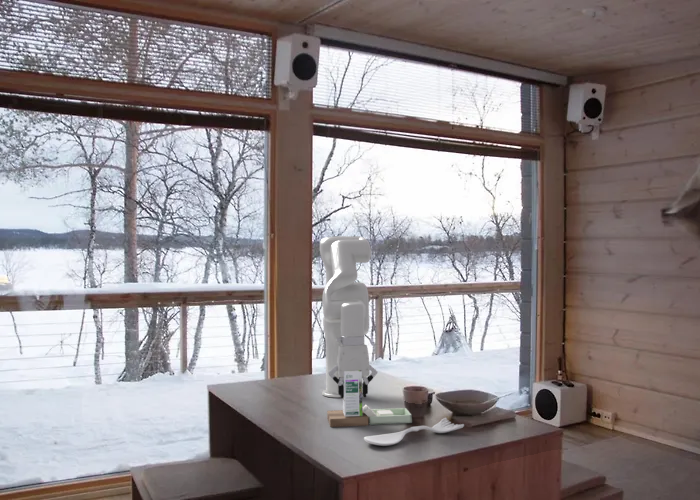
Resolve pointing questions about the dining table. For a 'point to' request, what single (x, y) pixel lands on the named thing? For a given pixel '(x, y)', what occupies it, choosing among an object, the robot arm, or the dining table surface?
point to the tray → (391, 417)
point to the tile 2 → (384, 413)
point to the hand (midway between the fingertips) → (353, 396)
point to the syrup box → (352, 393)
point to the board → (345, 419)
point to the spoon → (398, 436)
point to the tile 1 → (368, 411)
